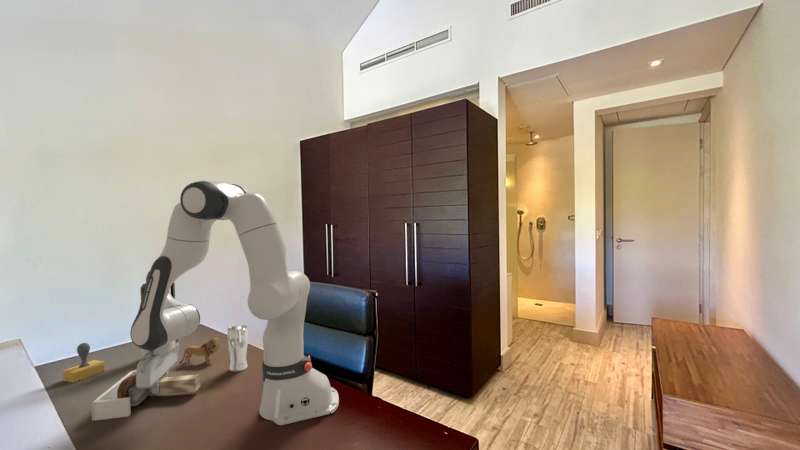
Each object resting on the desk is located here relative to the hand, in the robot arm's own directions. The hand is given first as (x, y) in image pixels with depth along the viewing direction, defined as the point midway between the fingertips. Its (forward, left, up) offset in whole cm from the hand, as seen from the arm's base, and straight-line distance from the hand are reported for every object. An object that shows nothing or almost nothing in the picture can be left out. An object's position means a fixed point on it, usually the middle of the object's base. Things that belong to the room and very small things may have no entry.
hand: (159, 388), depth 111 cm
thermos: (+15, -36, -3) cm, 39 cm away
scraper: (-3, 0, -1) cm, 4 cm away
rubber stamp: (+34, -23, -3) cm, 41 cm away
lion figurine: (-4, -25, -3) cm, 26 cm away
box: (+8, 0, -2) cm, 8 cm away
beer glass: (-19, -16, -3) cm, 25 cm away
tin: (+6, 0, -3) cm, 7 cm away
